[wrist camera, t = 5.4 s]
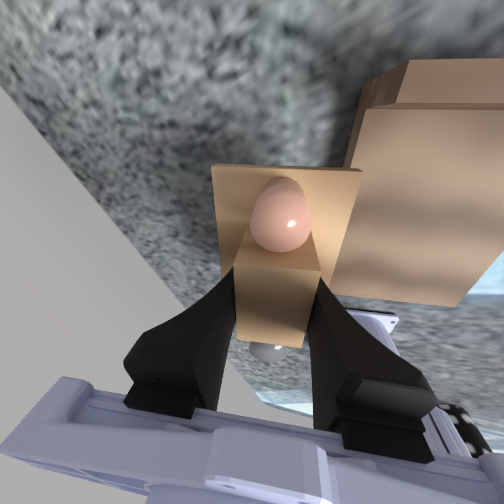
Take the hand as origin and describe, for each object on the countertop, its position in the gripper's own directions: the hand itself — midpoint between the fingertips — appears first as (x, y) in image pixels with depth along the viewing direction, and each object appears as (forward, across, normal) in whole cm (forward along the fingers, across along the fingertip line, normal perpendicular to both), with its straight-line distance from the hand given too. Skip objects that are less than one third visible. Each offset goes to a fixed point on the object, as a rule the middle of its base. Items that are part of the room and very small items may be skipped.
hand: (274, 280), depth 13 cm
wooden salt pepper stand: (+2, 0, 0) cm, 2 cm away
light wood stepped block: (+9, -12, -2) cm, 15 cm away
